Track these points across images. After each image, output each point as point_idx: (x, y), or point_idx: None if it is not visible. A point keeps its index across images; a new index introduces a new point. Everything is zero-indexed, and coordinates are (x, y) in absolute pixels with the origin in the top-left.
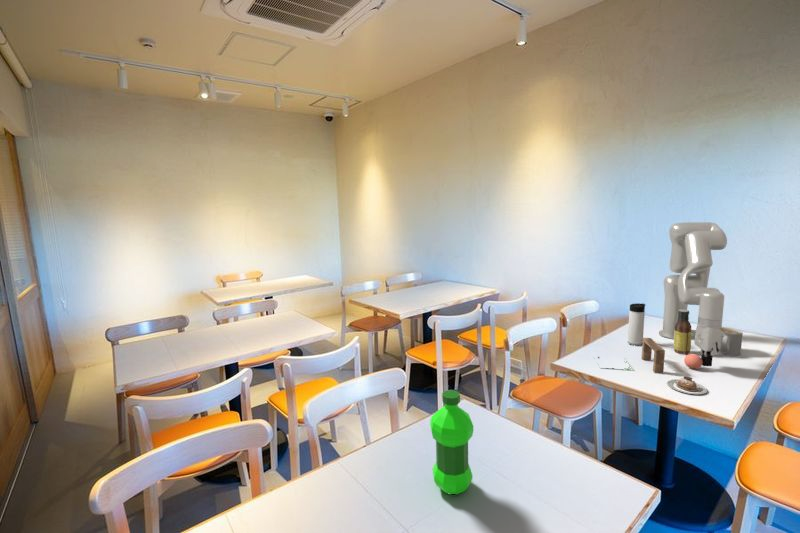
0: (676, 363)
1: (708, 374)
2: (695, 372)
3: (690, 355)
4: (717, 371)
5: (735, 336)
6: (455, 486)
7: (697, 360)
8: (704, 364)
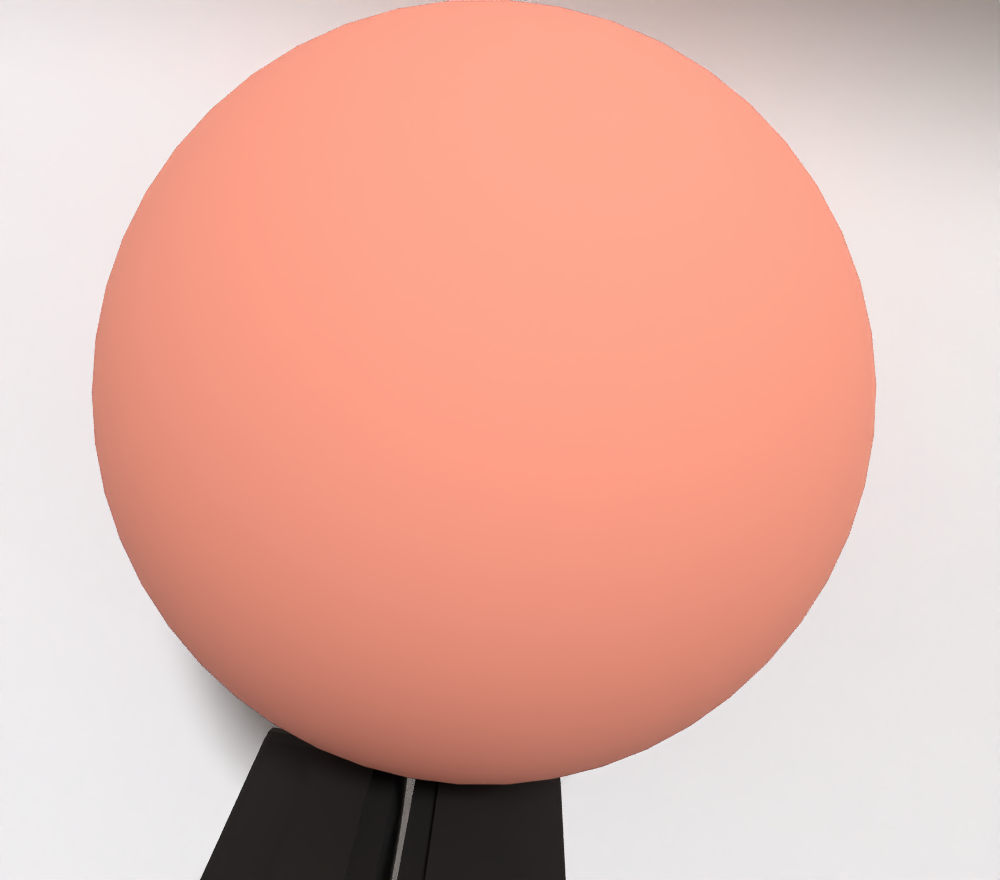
0: (983, 25)
1: (45, 495)
2: None
3: (425, 277)
4: None
5: None
6: None
7: (97, 433)
8: None
